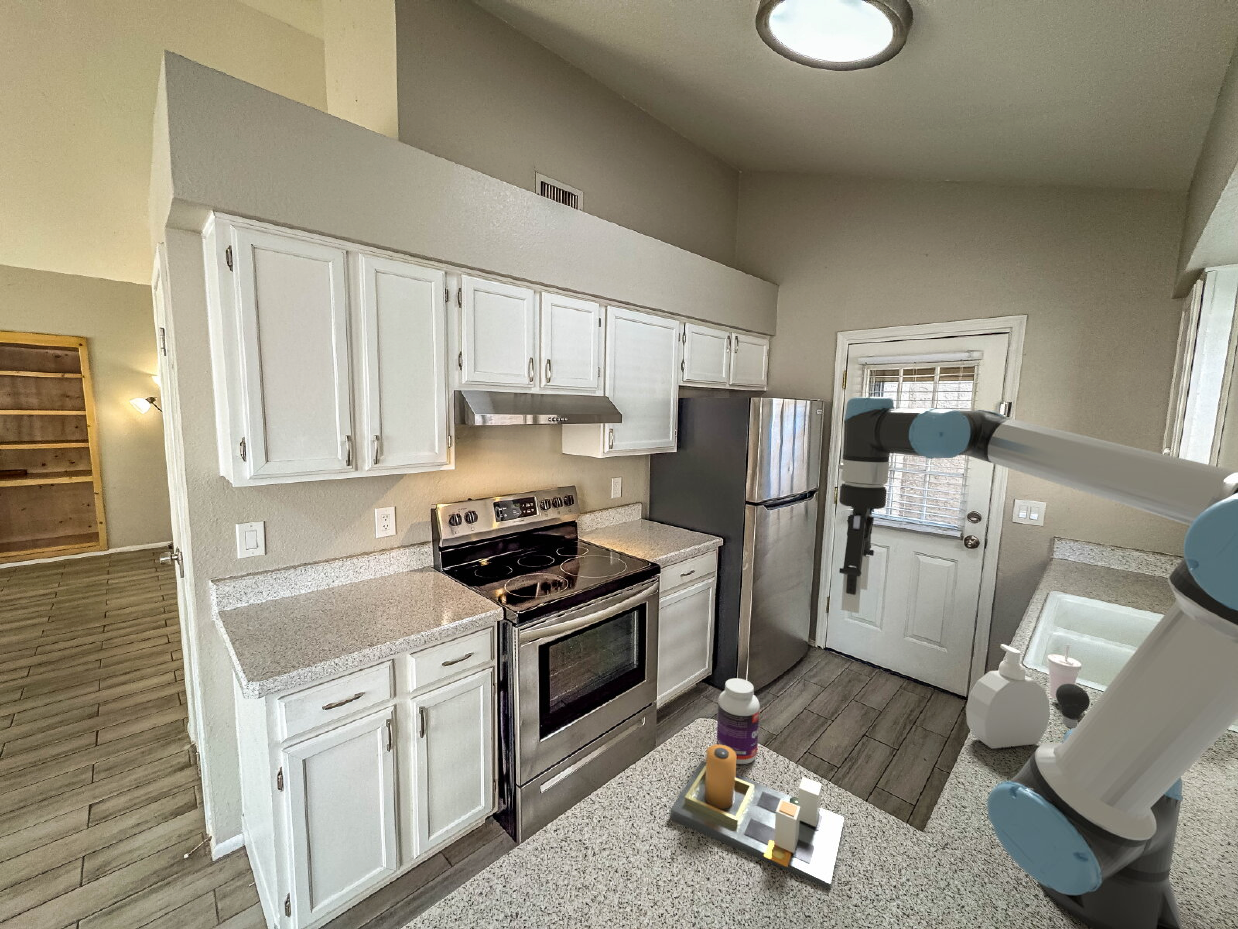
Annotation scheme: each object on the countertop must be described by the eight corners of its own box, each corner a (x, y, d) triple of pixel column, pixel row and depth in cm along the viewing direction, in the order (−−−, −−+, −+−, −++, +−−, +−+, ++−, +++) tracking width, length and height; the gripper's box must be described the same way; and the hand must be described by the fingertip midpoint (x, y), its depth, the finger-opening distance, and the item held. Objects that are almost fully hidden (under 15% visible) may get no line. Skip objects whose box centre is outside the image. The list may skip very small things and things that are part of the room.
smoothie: (1053, 703, 123) (1060, 648, 121) (1036, 689, 129) (1042, 636, 128) (1083, 706, 122) (1090, 650, 120) (1065, 692, 128) (1071, 638, 127)
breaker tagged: (798, 839, 79) (800, 805, 78) (794, 853, 76) (796, 819, 76) (778, 830, 81) (780, 798, 80) (773, 844, 78) (775, 810, 77)
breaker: (819, 814, 84) (821, 784, 83) (816, 827, 81) (818, 795, 81) (800, 807, 86) (802, 776, 85) (796, 819, 83) (798, 788, 82)
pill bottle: (758, 770, 97) (762, 699, 96) (715, 763, 99) (718, 693, 98) (755, 743, 105) (759, 677, 104) (716, 737, 107) (719, 672, 105)
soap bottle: (1023, 728, 113) (1033, 642, 111) (1047, 743, 108) (1058, 653, 105) (960, 734, 110) (969, 646, 108) (982, 750, 105) (992, 658, 103)
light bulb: (1093, 736, 110) (1098, 692, 109) (1067, 735, 110) (1072, 692, 109) (1070, 720, 116) (1075, 679, 115) (1045, 719, 116) (1050, 678, 115)
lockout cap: (738, 794, 89) (740, 749, 88) (728, 813, 84) (730, 766, 83) (711, 782, 91) (712, 739, 90) (700, 800, 87) (702, 755, 86)
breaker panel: (843, 828, 84) (844, 810, 84) (828, 900, 72) (829, 879, 71) (701, 770, 97) (702, 755, 97) (668, 823, 84) (668, 805, 84)
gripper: (849, 475, 103) (842, 576, 106) (829, 490, 82) (821, 616, 84) (891, 478, 99) (882, 583, 102) (881, 495, 78) (871, 627, 80)
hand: (854, 599), depth 93 cm, fingers open, 13 cm apart
